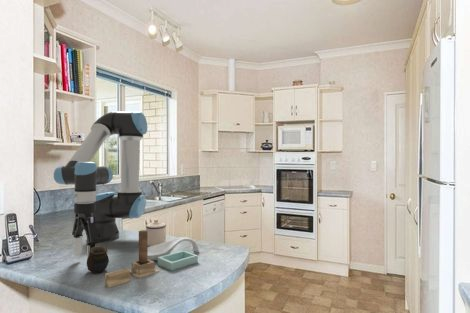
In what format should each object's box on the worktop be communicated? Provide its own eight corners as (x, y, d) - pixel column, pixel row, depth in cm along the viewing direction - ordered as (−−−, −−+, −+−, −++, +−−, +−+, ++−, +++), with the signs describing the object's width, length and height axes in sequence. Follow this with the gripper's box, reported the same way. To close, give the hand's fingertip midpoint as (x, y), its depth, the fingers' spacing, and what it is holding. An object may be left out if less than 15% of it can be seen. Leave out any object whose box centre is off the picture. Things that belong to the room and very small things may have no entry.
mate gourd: (105, 262, 117) (106, 237, 115) (110, 273, 112) (112, 247, 110) (84, 266, 113) (85, 241, 111) (89, 278, 107) (90, 251, 105)
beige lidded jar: (169, 244, 146) (169, 219, 146) (152, 248, 140) (152, 222, 140) (156, 239, 155) (156, 215, 155) (139, 242, 148) (139, 218, 148)
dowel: (137, 270, 111) (137, 231, 110) (144, 268, 113) (144, 229, 113) (141, 272, 108) (141, 232, 108) (149, 270, 111) (149, 231, 110)
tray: (157, 266, 118) (157, 257, 118) (183, 258, 126) (183, 250, 126) (171, 272, 111) (171, 263, 111) (197, 263, 120) (197, 255, 120)
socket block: (127, 273, 111) (127, 262, 110) (147, 267, 116) (147, 256, 116) (138, 279, 105) (138, 267, 105) (159, 273, 111) (159, 262, 111)
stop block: (105, 286, 100) (105, 273, 100) (125, 279, 105) (125, 268, 105) (109, 289, 98) (109, 276, 98) (130, 282, 103) (130, 270, 103)
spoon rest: (145, 266, 118) (145, 247, 118) (137, 257, 128) (137, 240, 128) (202, 255, 131) (202, 238, 131) (191, 248, 141) (191, 232, 141)
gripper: (63, 200, 125) (62, 253, 125) (87, 206, 108) (86, 268, 107) (83, 198, 131) (82, 249, 130) (108, 204, 113) (108, 263, 113)
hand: (84, 258), depth 119 cm, fingers open, 13 cm apart
